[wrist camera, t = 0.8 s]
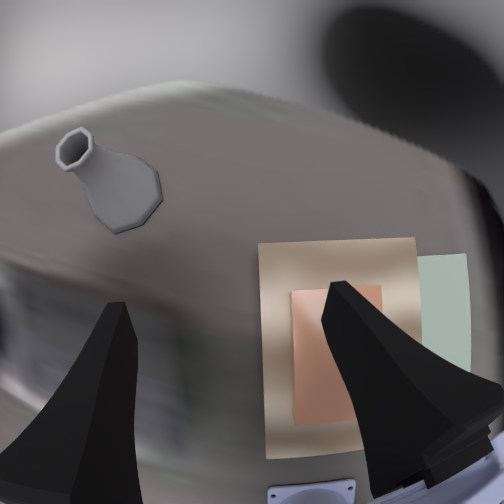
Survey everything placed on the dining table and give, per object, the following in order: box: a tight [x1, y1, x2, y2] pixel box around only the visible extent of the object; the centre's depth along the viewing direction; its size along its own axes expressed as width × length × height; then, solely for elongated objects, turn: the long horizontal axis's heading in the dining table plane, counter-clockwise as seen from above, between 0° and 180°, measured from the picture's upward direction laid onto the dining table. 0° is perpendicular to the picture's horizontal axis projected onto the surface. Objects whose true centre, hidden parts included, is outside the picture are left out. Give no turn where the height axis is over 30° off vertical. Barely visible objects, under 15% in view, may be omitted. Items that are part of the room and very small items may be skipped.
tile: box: [289, 285, 383, 426], centre depth 20 cm, size 9×6×2 cm, turn 2°
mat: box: [417, 254, 471, 372], centre depth 25 cm, size 14×8×1 cm, turn 2°
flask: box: [55, 126, 163, 234], centre depth 23 cm, size 7×7×10 cm
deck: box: [258, 237, 422, 459], centre depth 23 cm, size 16×12×4 cm
